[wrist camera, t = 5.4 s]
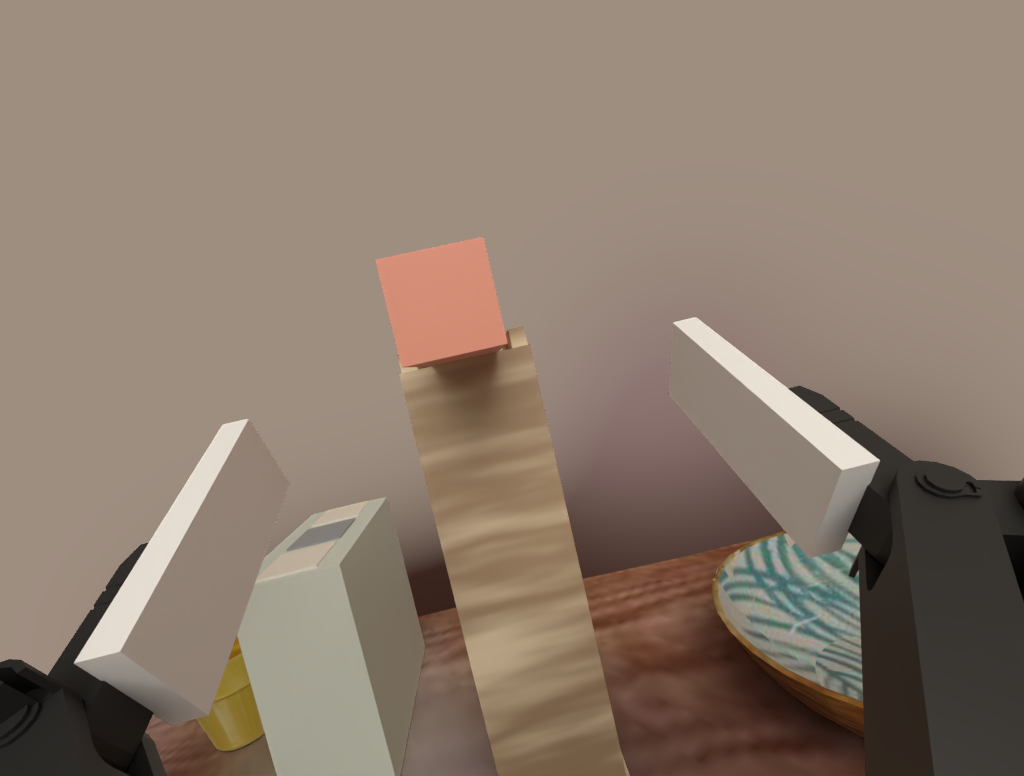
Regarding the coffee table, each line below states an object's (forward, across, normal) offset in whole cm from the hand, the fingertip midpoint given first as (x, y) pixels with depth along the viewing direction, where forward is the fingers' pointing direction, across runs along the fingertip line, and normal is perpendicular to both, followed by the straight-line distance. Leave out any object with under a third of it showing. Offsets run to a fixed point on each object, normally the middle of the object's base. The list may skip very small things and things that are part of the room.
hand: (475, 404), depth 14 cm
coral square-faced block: (+14, 0, -6) cm, 16 cm away
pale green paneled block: (+10, -19, -42) cm, 47 cm away
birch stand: (+1, 0, -37) cm, 37 cm away
